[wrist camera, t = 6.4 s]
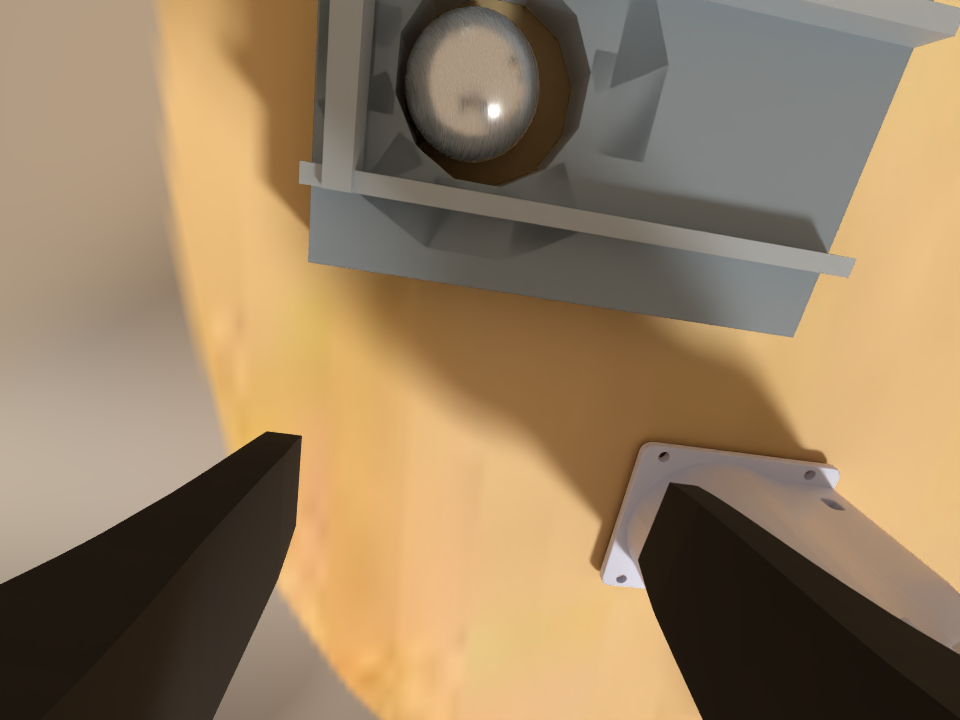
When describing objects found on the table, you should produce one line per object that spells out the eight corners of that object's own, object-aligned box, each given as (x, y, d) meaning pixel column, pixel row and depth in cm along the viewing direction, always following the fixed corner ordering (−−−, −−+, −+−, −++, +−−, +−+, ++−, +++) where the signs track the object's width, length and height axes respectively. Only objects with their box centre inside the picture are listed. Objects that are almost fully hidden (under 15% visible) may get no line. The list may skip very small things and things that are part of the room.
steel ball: (380, 36, 14) (499, 22, 15) (409, 173, 16) (515, 153, 17) (405, -9, 11) (557, -24, 12) (440, 172, 13) (570, 146, 14)
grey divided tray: (917, -119, 14) (1080, -225, 11) (752, 318, 19) (823, 351, 15) (355, -271, 13) (312, -462, 9) (328, 251, 17) (293, 269, 14)
